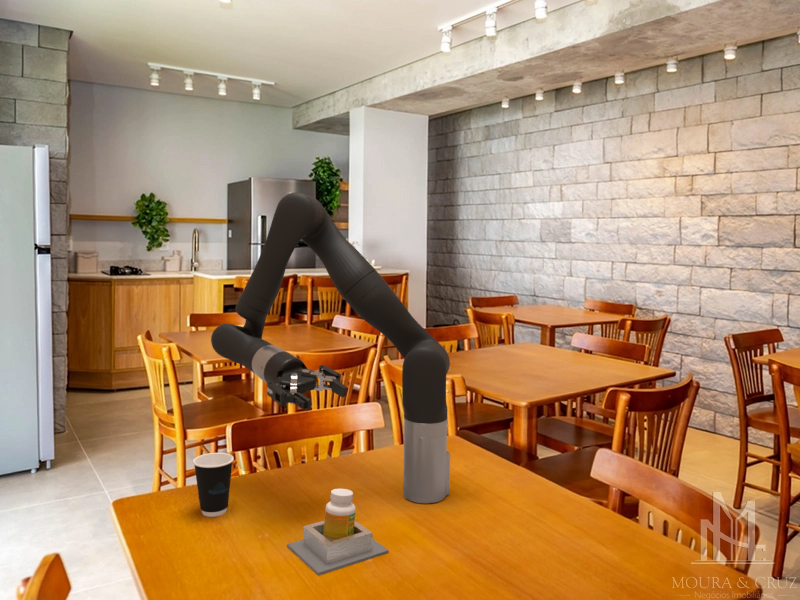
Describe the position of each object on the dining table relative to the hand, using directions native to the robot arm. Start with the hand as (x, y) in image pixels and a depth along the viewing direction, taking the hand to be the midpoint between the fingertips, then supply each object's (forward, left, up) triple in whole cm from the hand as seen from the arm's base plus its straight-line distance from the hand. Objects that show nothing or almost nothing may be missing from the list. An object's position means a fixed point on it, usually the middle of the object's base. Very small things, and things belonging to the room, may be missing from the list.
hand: (327, 399), depth 124 cm
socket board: (+3, +9, -26) cm, 28 cm away
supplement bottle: (+3, +9, -25) cm, 26 cm away
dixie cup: (+15, -19, -25) cm, 35 cm away
